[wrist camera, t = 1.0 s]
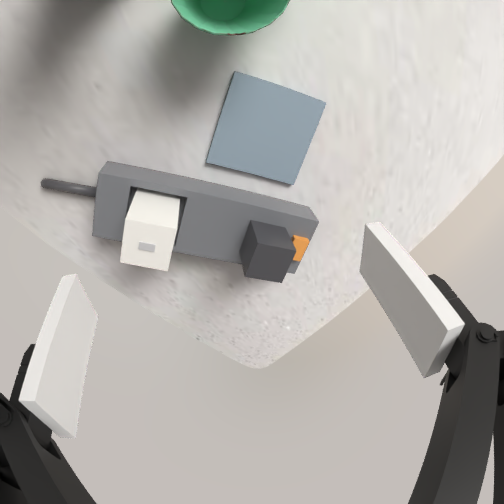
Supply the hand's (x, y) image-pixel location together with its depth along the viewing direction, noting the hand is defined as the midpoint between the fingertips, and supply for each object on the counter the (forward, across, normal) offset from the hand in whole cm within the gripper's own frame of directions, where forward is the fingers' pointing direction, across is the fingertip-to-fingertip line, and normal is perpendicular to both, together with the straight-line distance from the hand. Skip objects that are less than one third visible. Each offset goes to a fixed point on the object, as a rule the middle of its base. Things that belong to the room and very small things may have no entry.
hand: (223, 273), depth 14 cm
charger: (+23, -7, -7) cm, 26 cm away
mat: (+25, +7, 0) cm, 26 cm away
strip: (+25, -6, -8) cm, 27 cm away
